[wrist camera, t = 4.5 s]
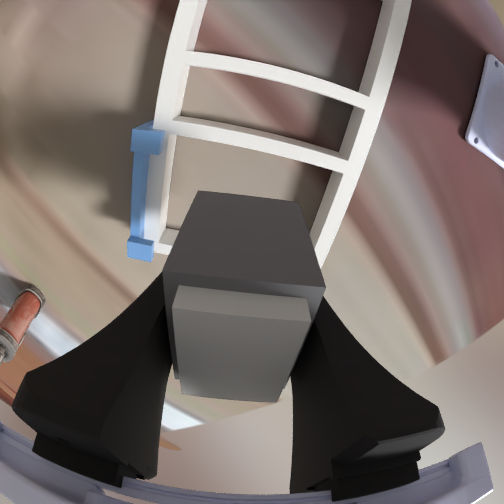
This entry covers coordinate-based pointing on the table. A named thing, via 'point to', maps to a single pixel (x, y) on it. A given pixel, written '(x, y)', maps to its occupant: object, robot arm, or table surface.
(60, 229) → the table surface
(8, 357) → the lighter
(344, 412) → the robot arm
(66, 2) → the table surface
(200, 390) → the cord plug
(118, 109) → the table surface
